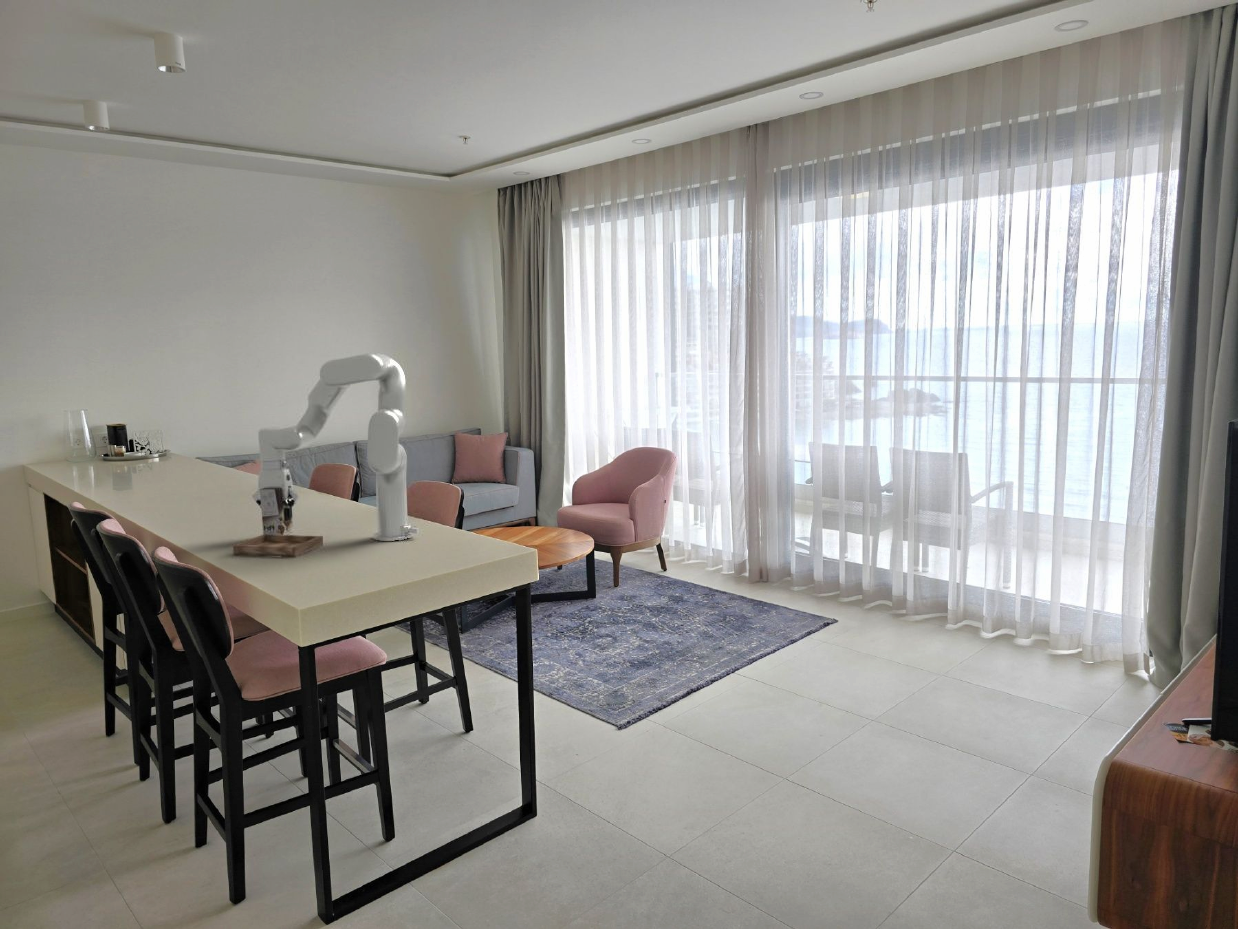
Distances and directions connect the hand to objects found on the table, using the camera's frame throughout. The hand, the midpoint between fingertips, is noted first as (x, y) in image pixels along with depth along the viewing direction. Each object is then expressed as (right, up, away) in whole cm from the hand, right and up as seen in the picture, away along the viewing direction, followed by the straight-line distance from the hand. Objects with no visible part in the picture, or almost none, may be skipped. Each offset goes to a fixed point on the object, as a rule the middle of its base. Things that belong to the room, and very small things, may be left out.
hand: (277, 519), depth 265 cm
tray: (+7, -8, -15) cm, 19 cm away
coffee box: (0, -5, +1) cm, 6 cm away
